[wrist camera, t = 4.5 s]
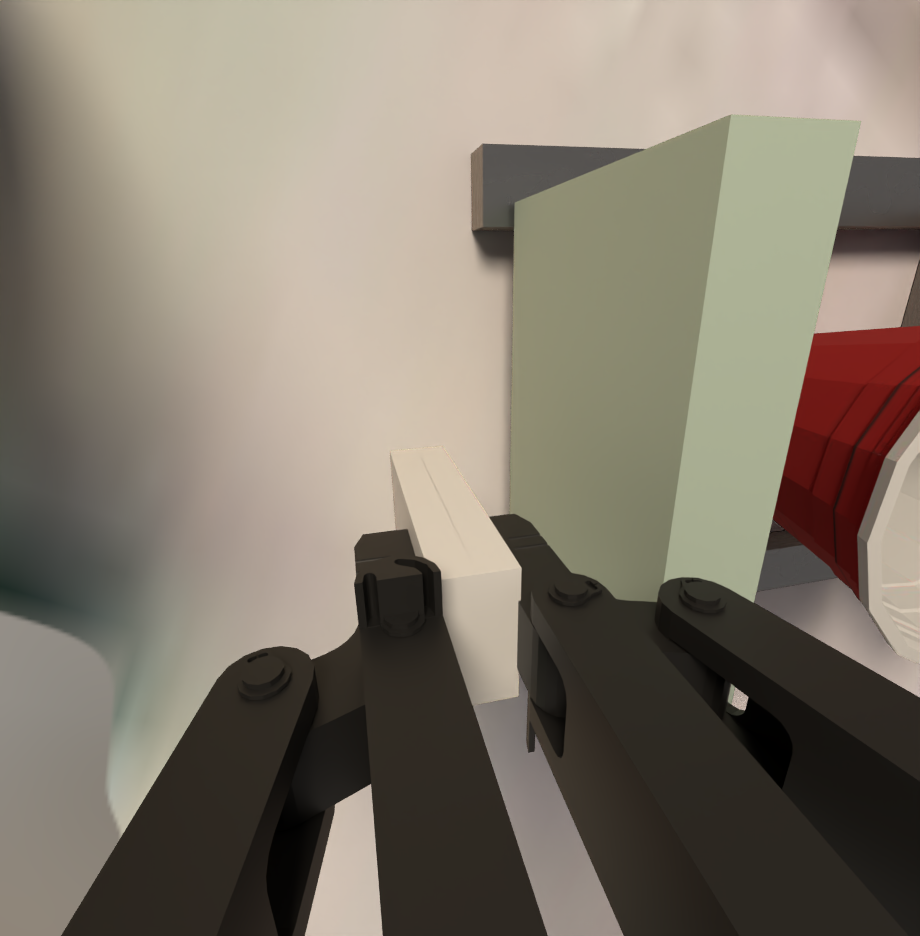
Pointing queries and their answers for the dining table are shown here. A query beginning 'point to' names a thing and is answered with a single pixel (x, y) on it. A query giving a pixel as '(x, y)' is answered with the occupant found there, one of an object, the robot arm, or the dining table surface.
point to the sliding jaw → (671, 348)
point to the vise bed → (542, 167)
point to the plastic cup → (861, 472)
